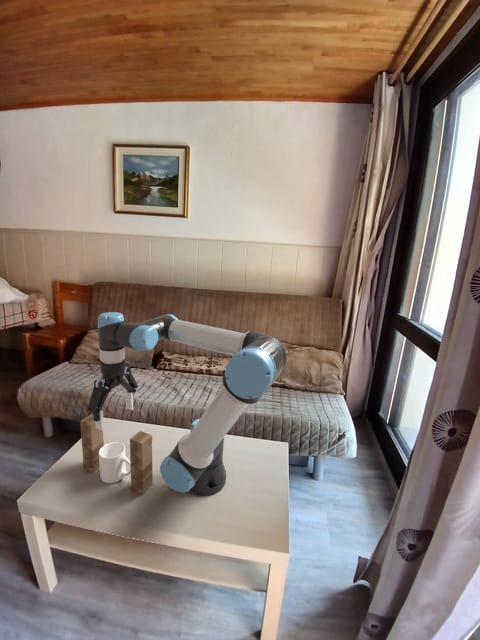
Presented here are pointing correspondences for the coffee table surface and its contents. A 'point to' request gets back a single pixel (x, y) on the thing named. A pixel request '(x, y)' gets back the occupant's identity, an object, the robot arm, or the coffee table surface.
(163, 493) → the coffee table surface
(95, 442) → the post far
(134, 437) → the post near
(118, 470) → the mug
